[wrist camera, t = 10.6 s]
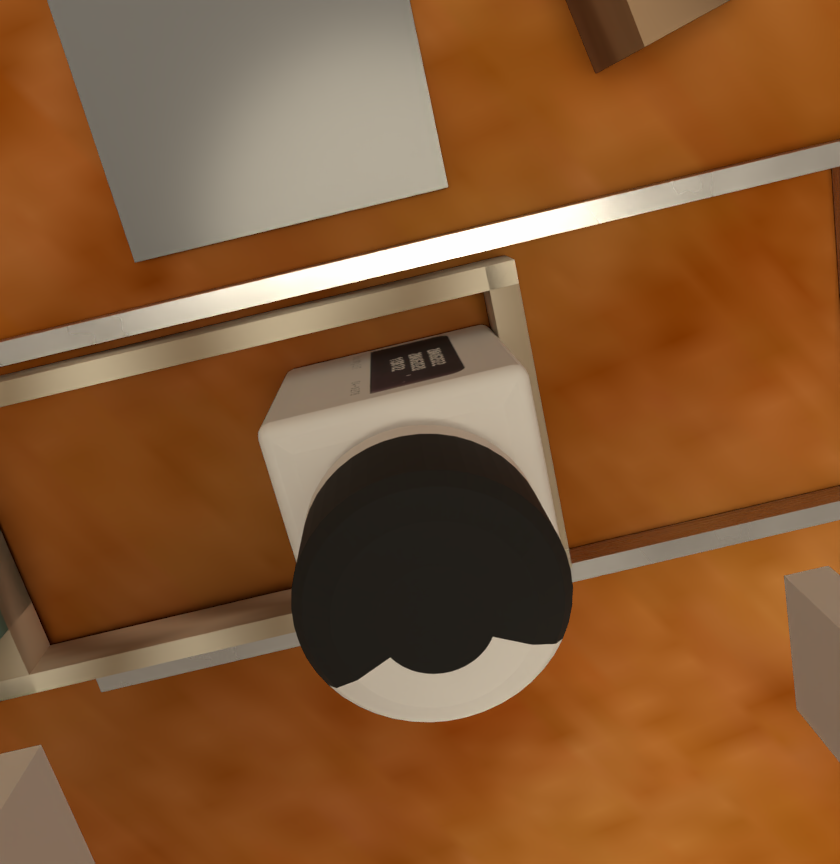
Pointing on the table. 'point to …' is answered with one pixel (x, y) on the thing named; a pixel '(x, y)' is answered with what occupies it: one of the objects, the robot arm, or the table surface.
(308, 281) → the lanes
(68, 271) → the table surface
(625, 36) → the walnut cube
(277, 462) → the container
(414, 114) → the coaster
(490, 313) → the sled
